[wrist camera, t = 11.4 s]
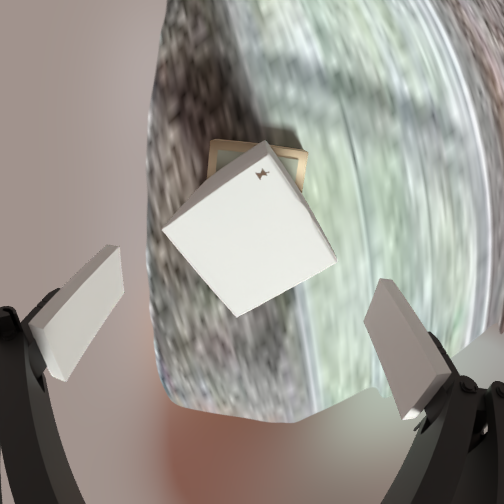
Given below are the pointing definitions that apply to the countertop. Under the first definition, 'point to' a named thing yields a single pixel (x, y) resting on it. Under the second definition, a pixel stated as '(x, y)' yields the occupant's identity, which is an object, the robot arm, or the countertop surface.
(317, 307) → the countertop surface
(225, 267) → the supplement box
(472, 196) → the countertop surface
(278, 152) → the tan picture frame
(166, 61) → the countertop surface
